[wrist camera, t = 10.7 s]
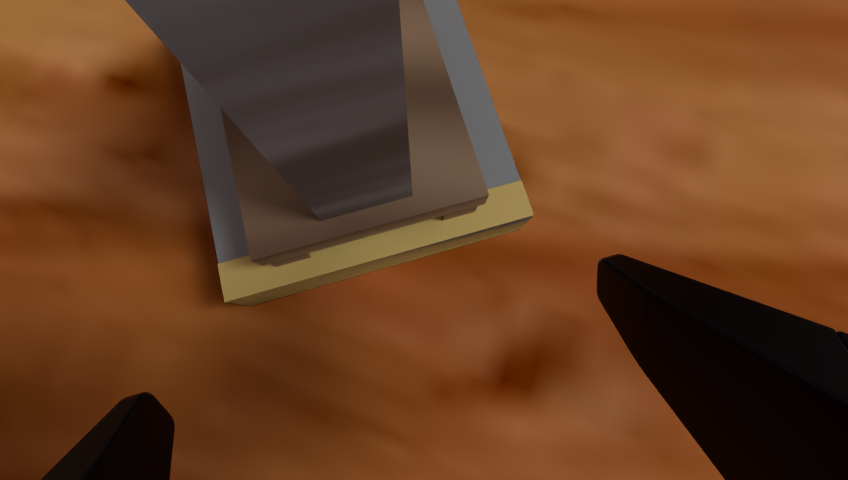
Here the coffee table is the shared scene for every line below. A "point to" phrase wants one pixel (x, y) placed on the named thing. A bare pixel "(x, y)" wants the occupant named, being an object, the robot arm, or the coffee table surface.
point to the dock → (381, 250)
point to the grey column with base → (327, 116)
